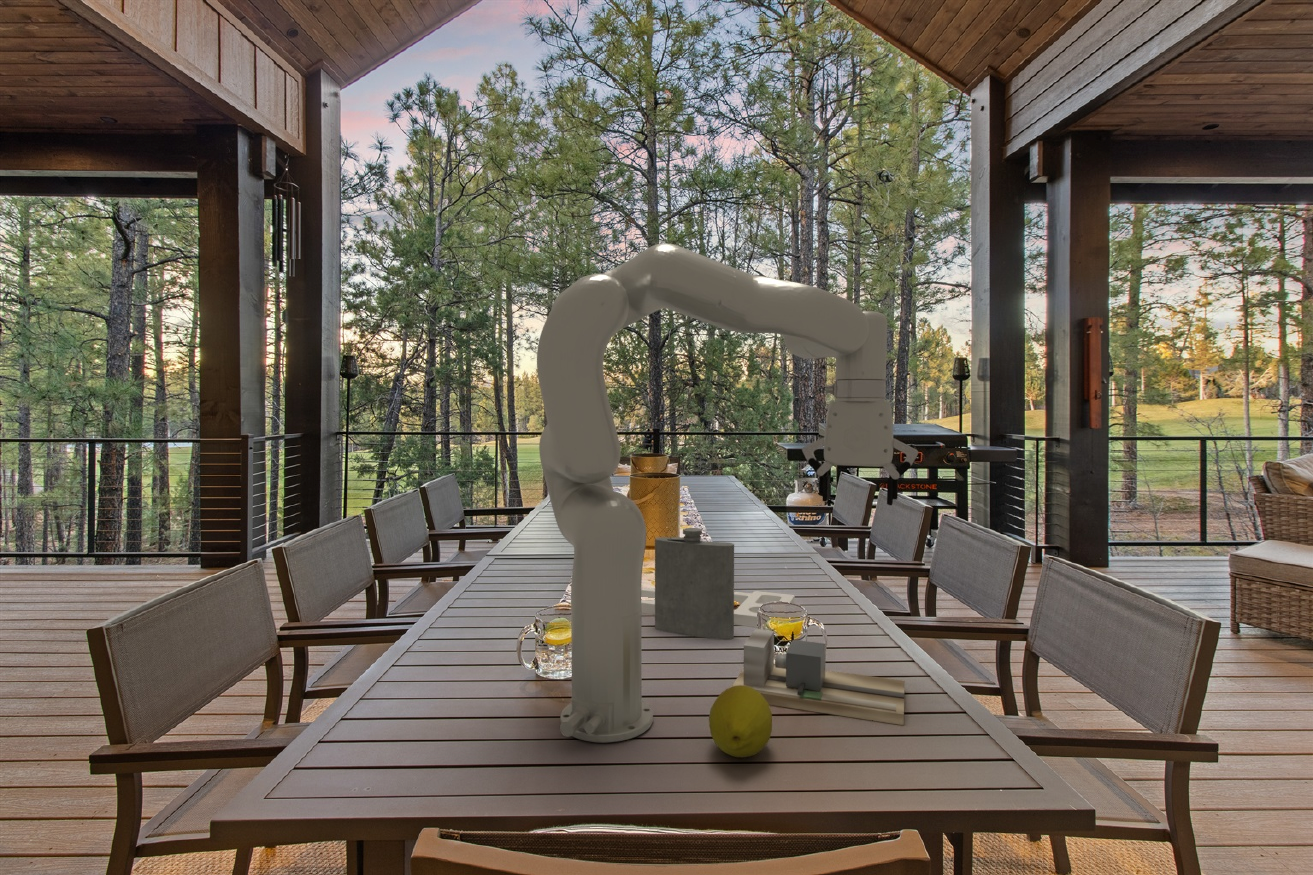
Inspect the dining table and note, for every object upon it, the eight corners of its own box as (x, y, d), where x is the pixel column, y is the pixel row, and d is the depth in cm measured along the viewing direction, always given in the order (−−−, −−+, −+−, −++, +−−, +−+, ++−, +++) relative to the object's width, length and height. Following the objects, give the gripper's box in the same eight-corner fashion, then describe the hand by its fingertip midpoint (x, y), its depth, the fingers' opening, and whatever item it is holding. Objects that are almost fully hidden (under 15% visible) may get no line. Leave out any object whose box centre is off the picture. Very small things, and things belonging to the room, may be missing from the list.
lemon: (722, 728, 91) (722, 669, 90) (780, 739, 88) (781, 679, 87) (695, 768, 81) (695, 702, 81) (759, 782, 78) (759, 714, 77)
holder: (572, 606, 148) (572, 594, 148) (608, 586, 165) (608, 575, 165) (777, 632, 131) (777, 618, 131) (794, 607, 148) (795, 595, 148)
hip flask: (736, 635, 128) (736, 529, 127) (729, 642, 124) (729, 533, 123) (659, 624, 134) (658, 523, 134) (650, 630, 131) (650, 527, 130)
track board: (903, 725, 92) (904, 670, 91) (730, 698, 100) (730, 648, 100) (904, 690, 103) (905, 641, 103) (748, 669, 111) (748, 624, 111)
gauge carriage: (817, 700, 95) (817, 665, 95) (767, 692, 98) (768, 658, 98) (825, 675, 104) (825, 643, 104) (779, 669, 106) (779, 638, 106)
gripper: (799, 391, 105) (797, 501, 106) (919, 391, 99) (916, 509, 99) (807, 393, 112) (805, 496, 113) (920, 393, 106) (917, 502, 106)
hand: (857, 502), depth 106 cm, fingers open, 9 cm apart
